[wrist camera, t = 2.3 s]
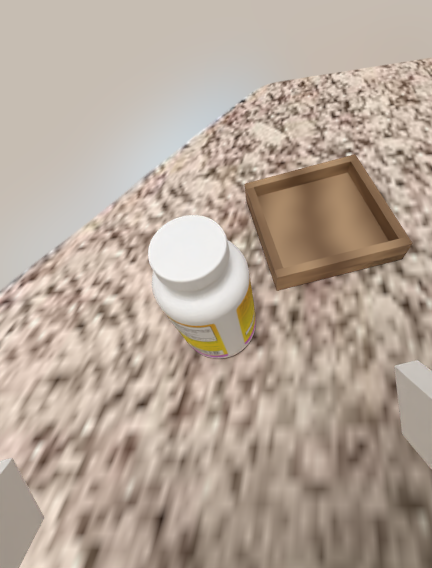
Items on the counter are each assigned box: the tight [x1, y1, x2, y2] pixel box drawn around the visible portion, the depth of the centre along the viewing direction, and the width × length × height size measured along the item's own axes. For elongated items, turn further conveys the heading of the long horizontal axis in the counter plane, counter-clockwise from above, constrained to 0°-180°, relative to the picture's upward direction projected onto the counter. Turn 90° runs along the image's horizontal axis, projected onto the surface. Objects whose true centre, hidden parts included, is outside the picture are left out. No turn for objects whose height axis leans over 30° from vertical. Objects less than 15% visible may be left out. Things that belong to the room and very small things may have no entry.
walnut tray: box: [245, 155, 413, 290], centre depth 31 cm, size 12×12×2 cm
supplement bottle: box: [148, 215, 256, 358], centre depth 23 cm, size 7×7×13 cm
